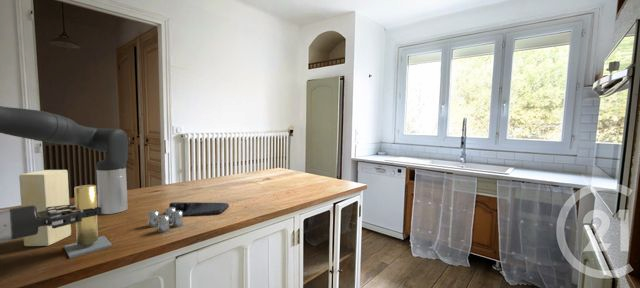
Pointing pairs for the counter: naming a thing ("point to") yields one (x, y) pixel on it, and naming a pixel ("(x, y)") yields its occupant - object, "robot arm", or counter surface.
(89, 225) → the brass sleeve
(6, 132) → the robot arm
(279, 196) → the counter surface
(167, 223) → the steel spacer
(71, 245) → the slate pad
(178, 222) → the steel spacer
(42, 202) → the cream rectangular block
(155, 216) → the steel spacer
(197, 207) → the dark slate chunk
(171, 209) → the steel spacer
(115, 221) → the counter surface
